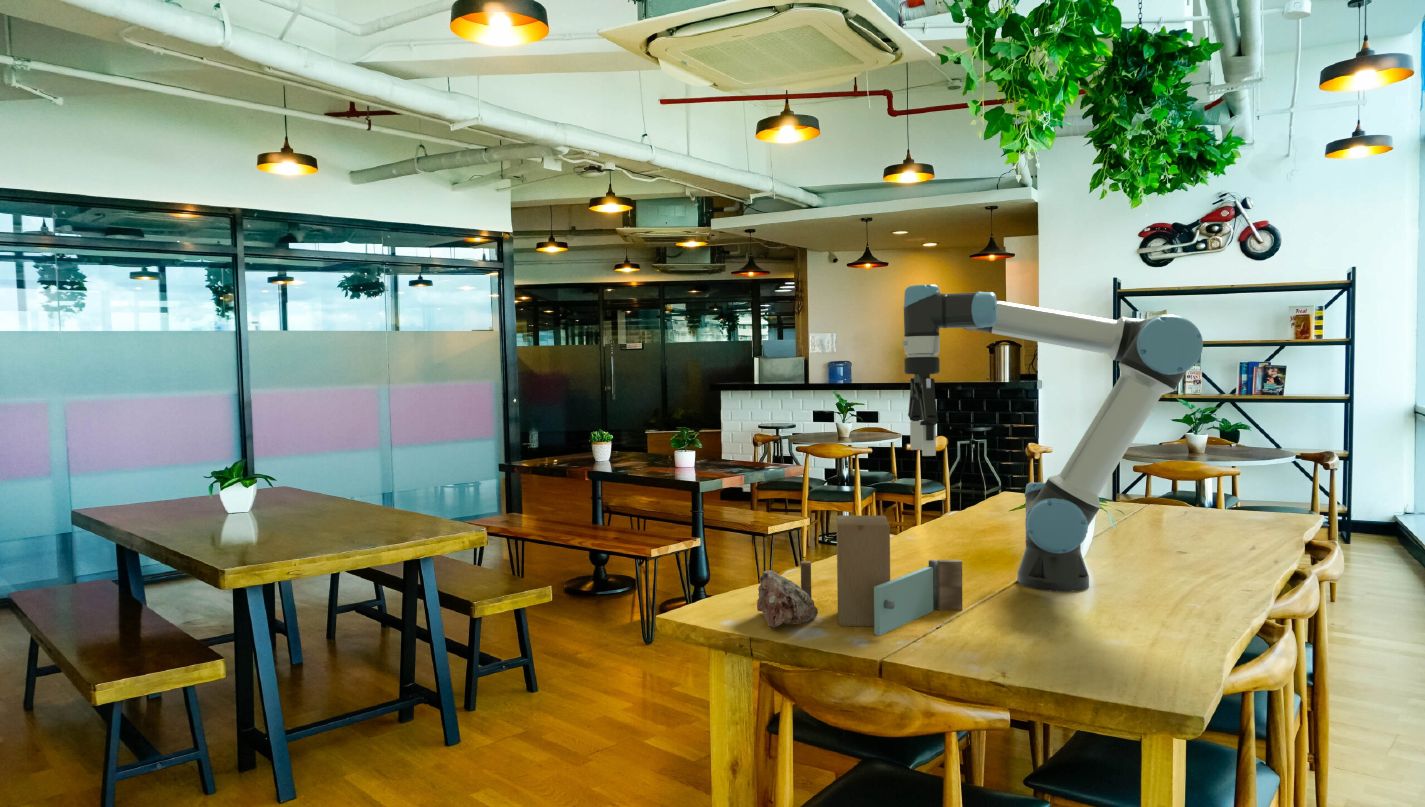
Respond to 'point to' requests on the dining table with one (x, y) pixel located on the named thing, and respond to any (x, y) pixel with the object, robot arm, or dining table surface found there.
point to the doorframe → (944, 583)
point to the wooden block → (861, 566)
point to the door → (903, 600)
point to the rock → (783, 601)
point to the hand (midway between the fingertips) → (922, 452)
